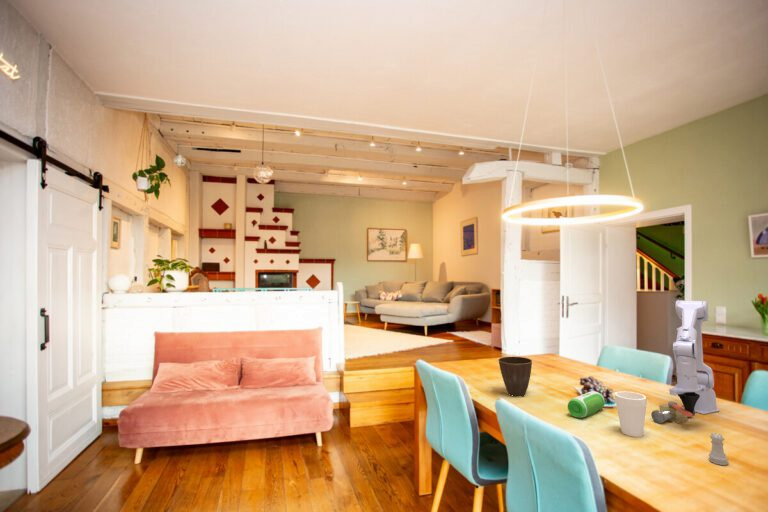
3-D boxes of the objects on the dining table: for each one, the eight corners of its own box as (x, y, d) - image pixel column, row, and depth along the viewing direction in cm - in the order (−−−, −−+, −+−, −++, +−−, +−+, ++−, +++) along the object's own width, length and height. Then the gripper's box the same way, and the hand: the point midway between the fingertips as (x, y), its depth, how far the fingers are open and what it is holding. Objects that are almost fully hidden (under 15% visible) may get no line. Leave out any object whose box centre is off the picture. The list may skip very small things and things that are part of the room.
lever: (666, 404, 147) (666, 401, 147) (675, 404, 146) (675, 401, 146) (684, 416, 135) (684, 412, 135) (693, 416, 134) (693, 413, 134)
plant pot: (521, 402, 169) (519, 365, 170) (493, 394, 181) (491, 359, 182) (540, 395, 178) (538, 360, 179) (512, 387, 190) (511, 355, 191)
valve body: (681, 413, 150) (680, 401, 151) (698, 419, 145) (697, 406, 145) (649, 420, 145) (648, 407, 145) (665, 425, 139) (664, 412, 140)
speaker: (585, 421, 146) (584, 401, 146) (566, 416, 152) (565, 396, 152) (607, 411, 156) (606, 392, 156) (588, 406, 162) (587, 388, 162)
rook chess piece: (708, 457, 116) (706, 430, 116) (728, 461, 113) (726, 433, 113) (708, 463, 112) (706, 435, 113) (729, 467, 109) (727, 439, 110)
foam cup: (633, 440, 128) (631, 401, 129) (610, 429, 137) (608, 393, 138) (655, 436, 131) (653, 397, 131) (631, 426, 140) (629, 390, 140)
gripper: (690, 370, 143) (693, 407, 143) (660, 374, 140) (662, 411, 139) (711, 375, 137) (713, 413, 136) (679, 379, 133) (682, 418, 132)
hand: (689, 413), depth 137 cm, fingers closed, pressing on lever
